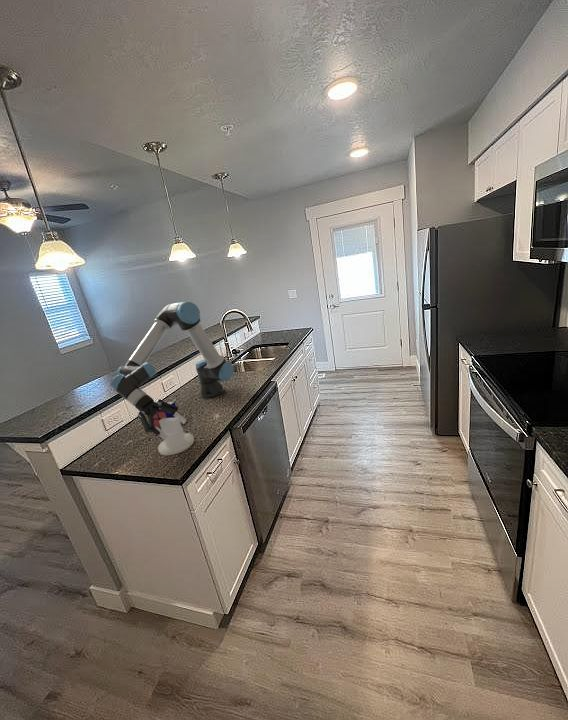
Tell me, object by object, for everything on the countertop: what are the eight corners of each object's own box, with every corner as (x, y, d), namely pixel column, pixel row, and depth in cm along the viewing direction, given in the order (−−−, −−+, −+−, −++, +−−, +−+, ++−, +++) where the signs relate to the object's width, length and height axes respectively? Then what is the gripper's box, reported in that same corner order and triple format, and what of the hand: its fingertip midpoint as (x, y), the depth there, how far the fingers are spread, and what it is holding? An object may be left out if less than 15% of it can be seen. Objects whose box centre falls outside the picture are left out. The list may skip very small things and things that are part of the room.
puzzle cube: (170, 426, 161) (164, 409, 158) (153, 427, 163) (148, 411, 160) (179, 417, 170) (175, 401, 167) (164, 418, 172) (159, 402, 169)
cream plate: (185, 432, 151) (184, 429, 150) (200, 442, 139) (199, 439, 139) (153, 448, 141) (152, 445, 141) (166, 460, 129) (165, 457, 129)
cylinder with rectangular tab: (189, 436, 143) (182, 414, 139) (179, 447, 134) (171, 423, 131) (172, 437, 145) (166, 415, 142) (161, 448, 137) (154, 424, 133)
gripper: (156, 394, 151) (189, 421, 150) (116, 418, 128) (154, 450, 127) (162, 384, 147) (195, 411, 146) (121, 407, 125) (160, 440, 124)
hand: (176, 429), depth 137 cm, fingers open, 13 cm apart
